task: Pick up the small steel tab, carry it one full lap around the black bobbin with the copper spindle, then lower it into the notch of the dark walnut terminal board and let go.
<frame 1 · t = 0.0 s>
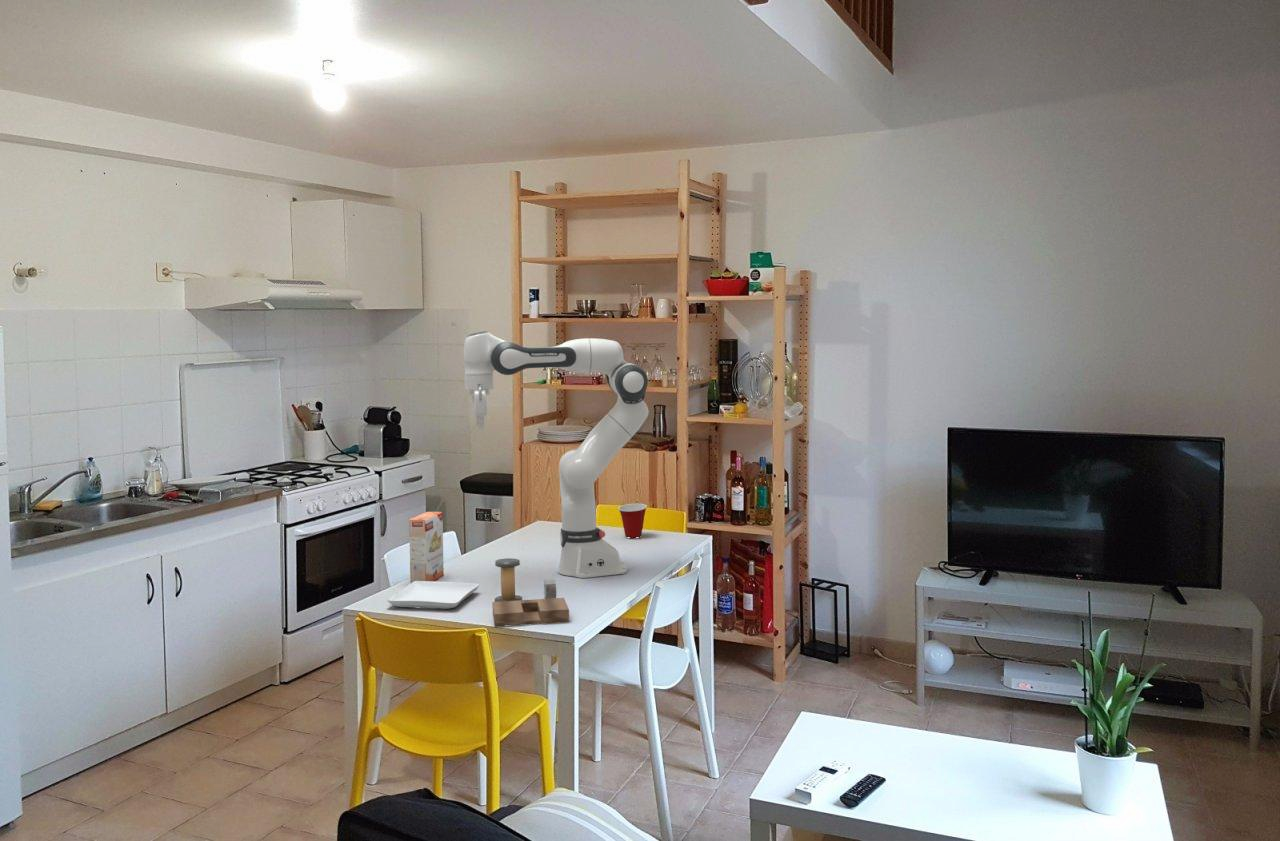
hand: (480, 427, 325), 48 cm above the table, tool pointing down, fingers open, 8 cm apart
bobbin: (508, 603, 299), on the table
plastic cup: (632, 538, 386), on the table
steel tab: (550, 602, 300), on the table
cracker box: (427, 580, 327), on the table
salad plate: (434, 602, 303), on the table
notched board: (530, 618, 284), on the table
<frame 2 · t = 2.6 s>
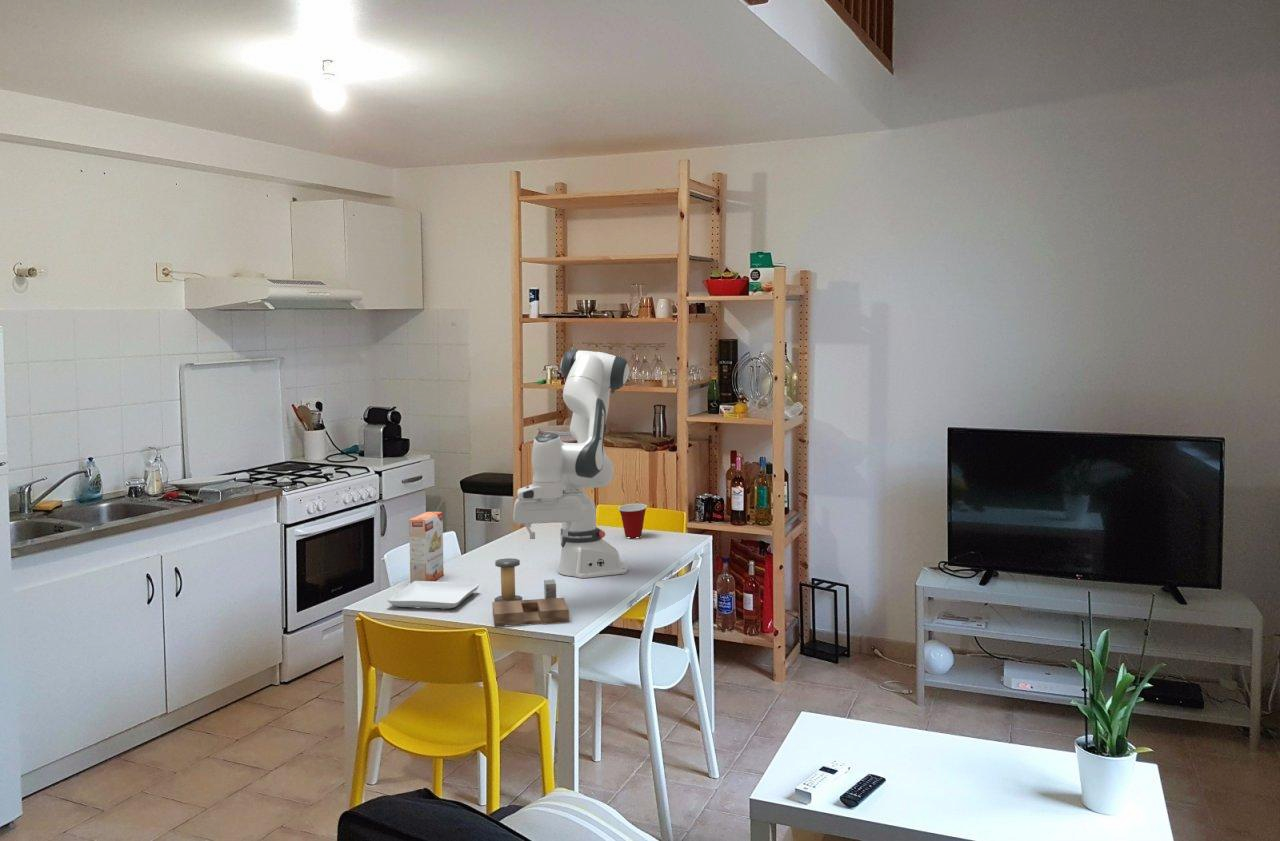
hand: (548, 537, 298), 19 cm above the table, tool pointing down, fingers open, 8 cm apart
nothing on the table moved.
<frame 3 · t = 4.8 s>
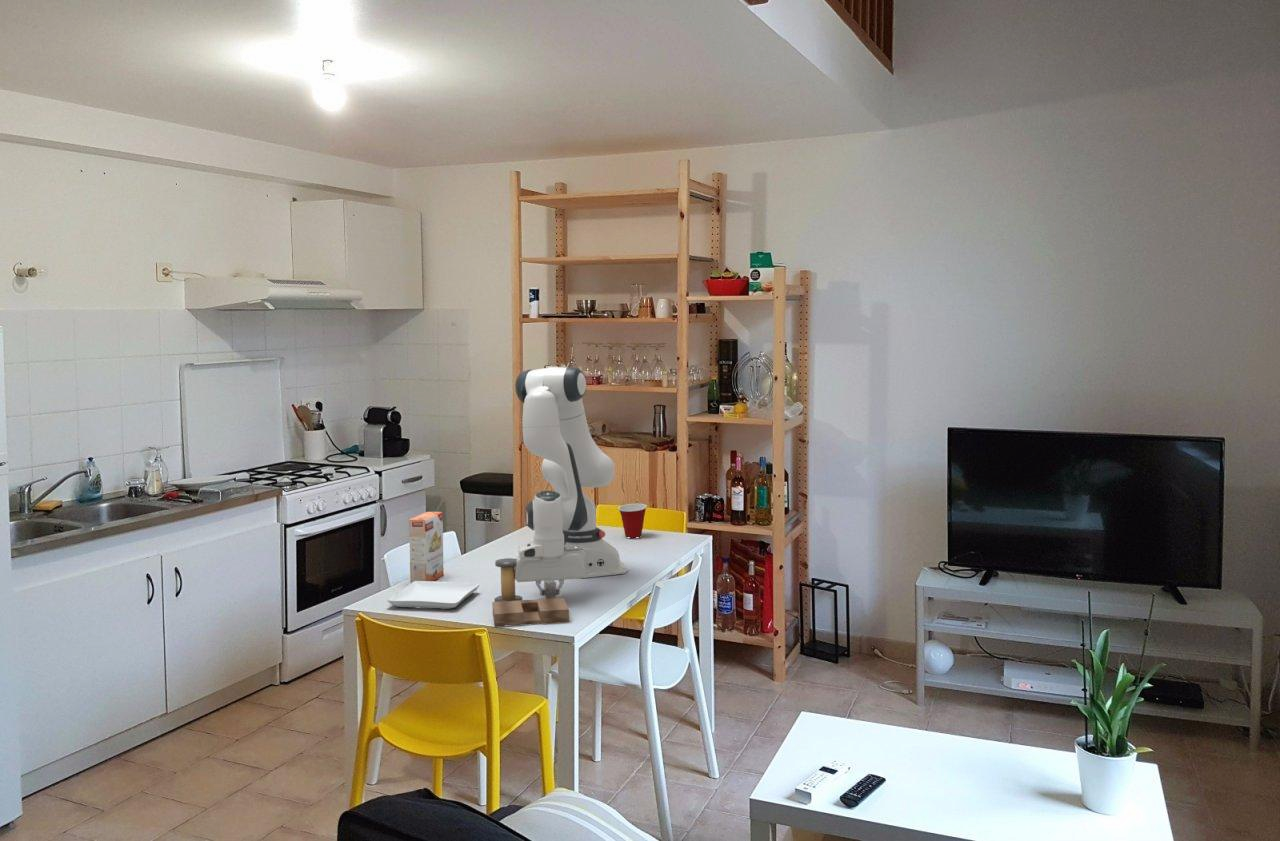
hand: (550, 594, 300), 2 cm above the table, tool pointing down, fingers closed on steel tab, 3 cm apart
steel tab: (550, 602, 300), on the table, touching gripper
everything else where it was.
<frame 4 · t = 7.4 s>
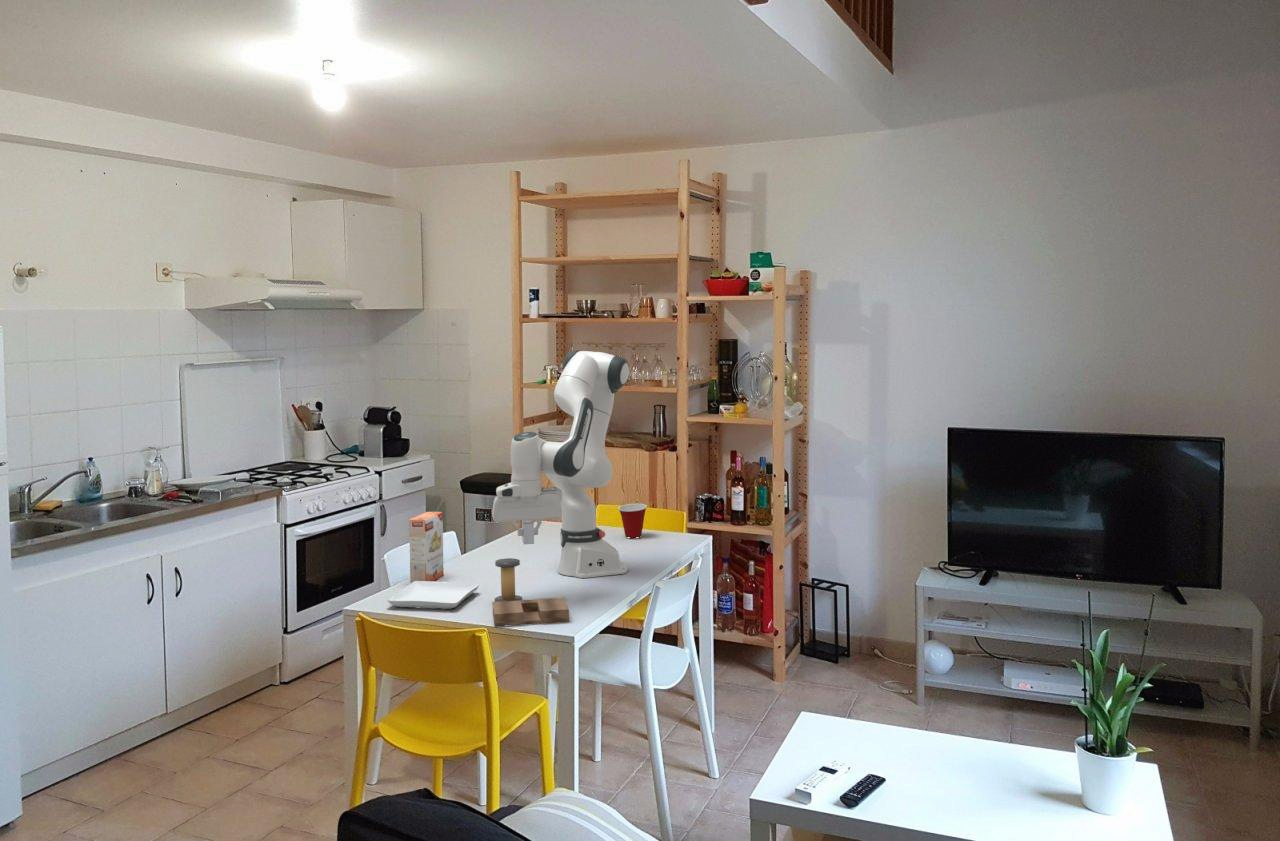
hand: (527, 535, 302), 19 cm above the table, tool pointing down, fingers closed on steel tab, 3 cm apart
steel tab: (528, 542, 303), point 17 cm above the table, touching gripper
everything else where it was.
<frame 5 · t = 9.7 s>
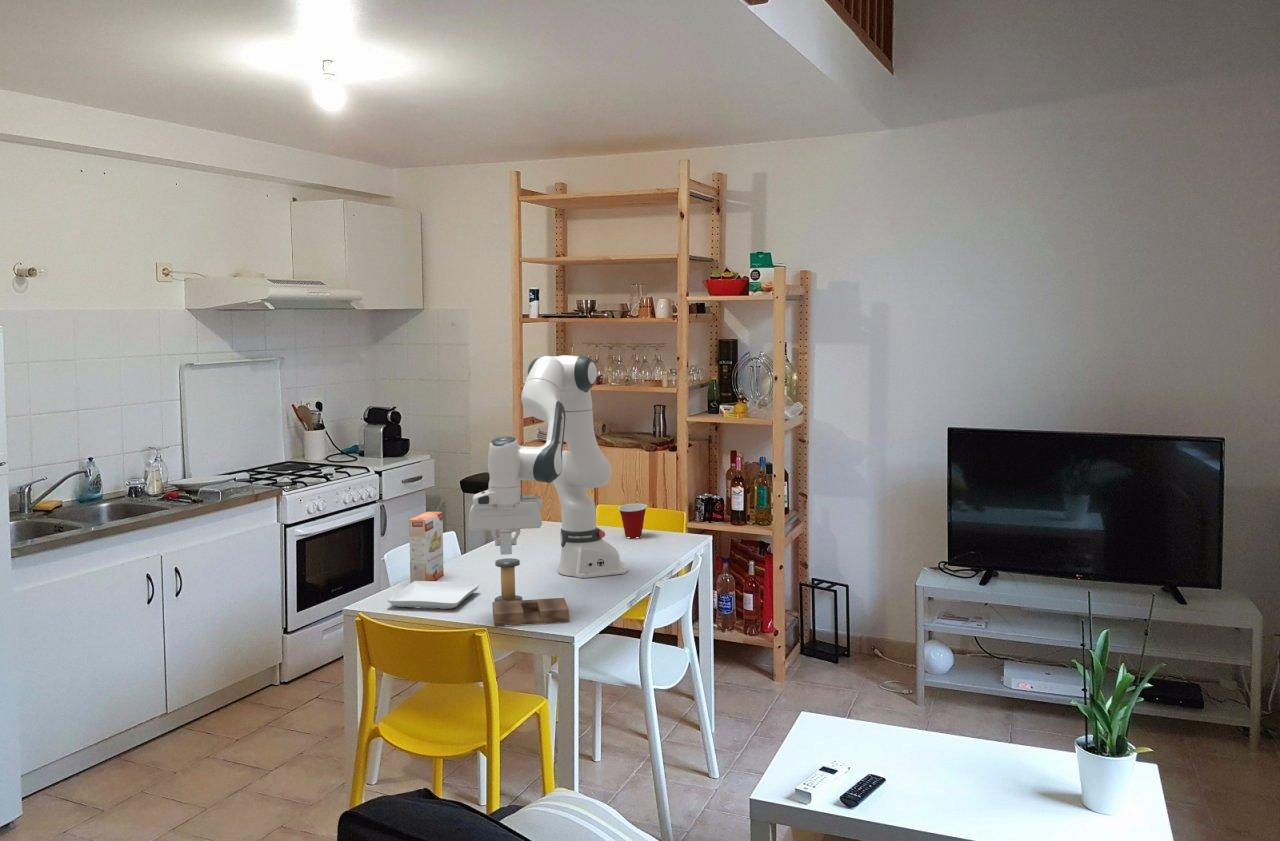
hand: (505, 545, 288), 19 cm above the table, tool pointing down, fingers closed on steel tab, 3 cm apart
steel tab: (506, 552, 288), point 17 cm above the table, touching gripper
everything else where it was.
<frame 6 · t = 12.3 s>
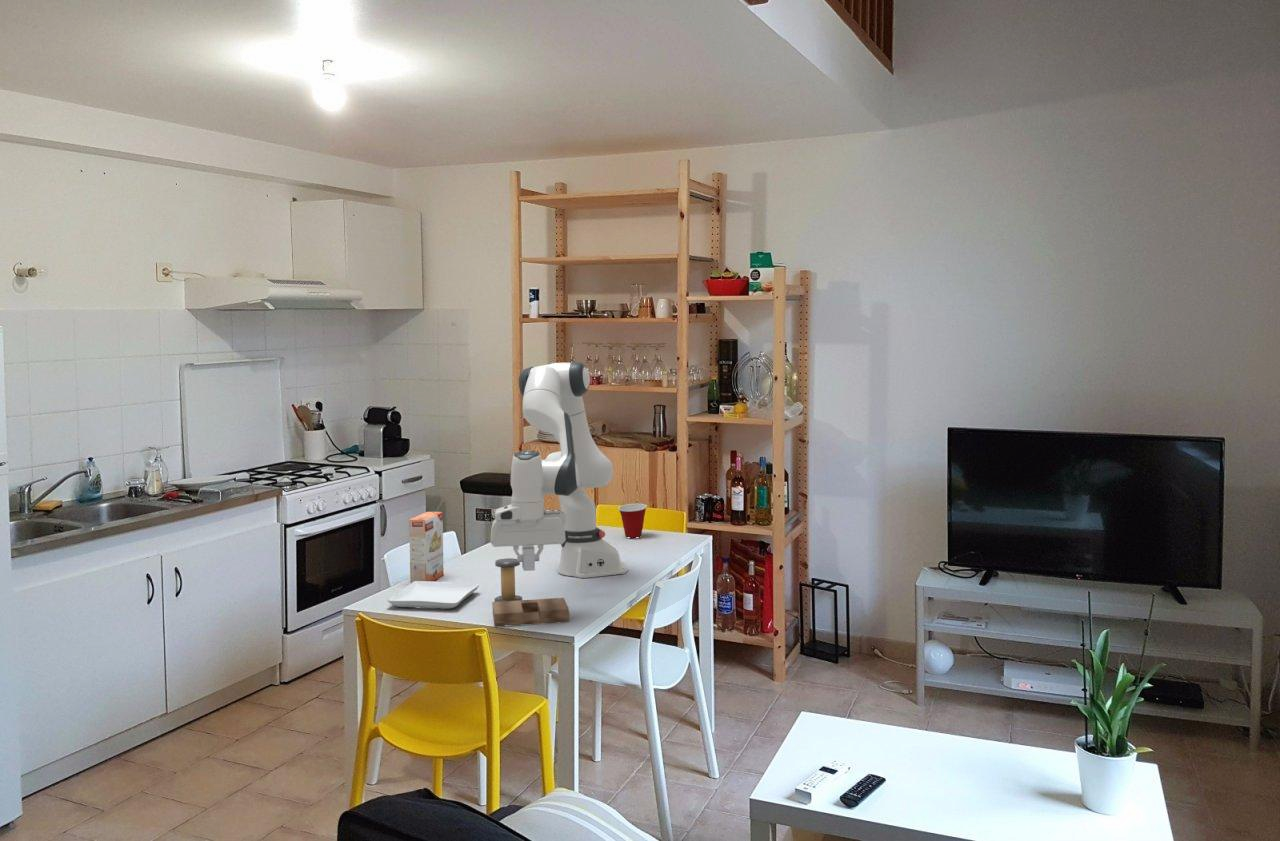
hand: (528, 561, 281), 16 cm above the table, tool pointing down, fingers closed on steel tab, 3 cm apart
steel tab: (528, 568, 281), point 14 cm above the table, touching gripper
everything else where it was.
when the fingers open (5 cm above the table, at t = 14.5 s): steel tab drops 2 cm, resting on notched board.
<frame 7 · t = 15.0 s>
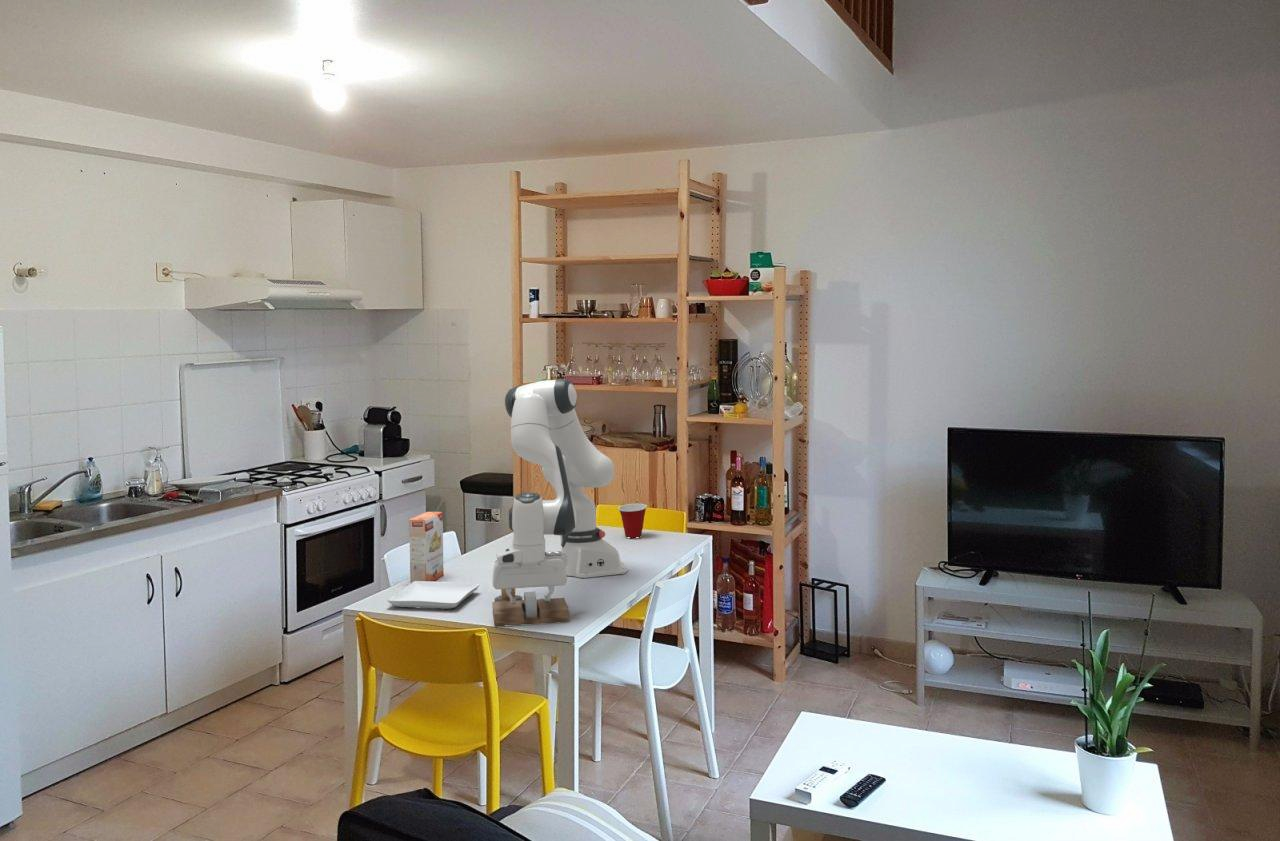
hand: (530, 602, 283), 5 cm above the table, tool pointing down, fingers open, 8 cm apart
steel tab: (530, 615, 283), point 1 cm above the table, touching notched board
everything else where it was.
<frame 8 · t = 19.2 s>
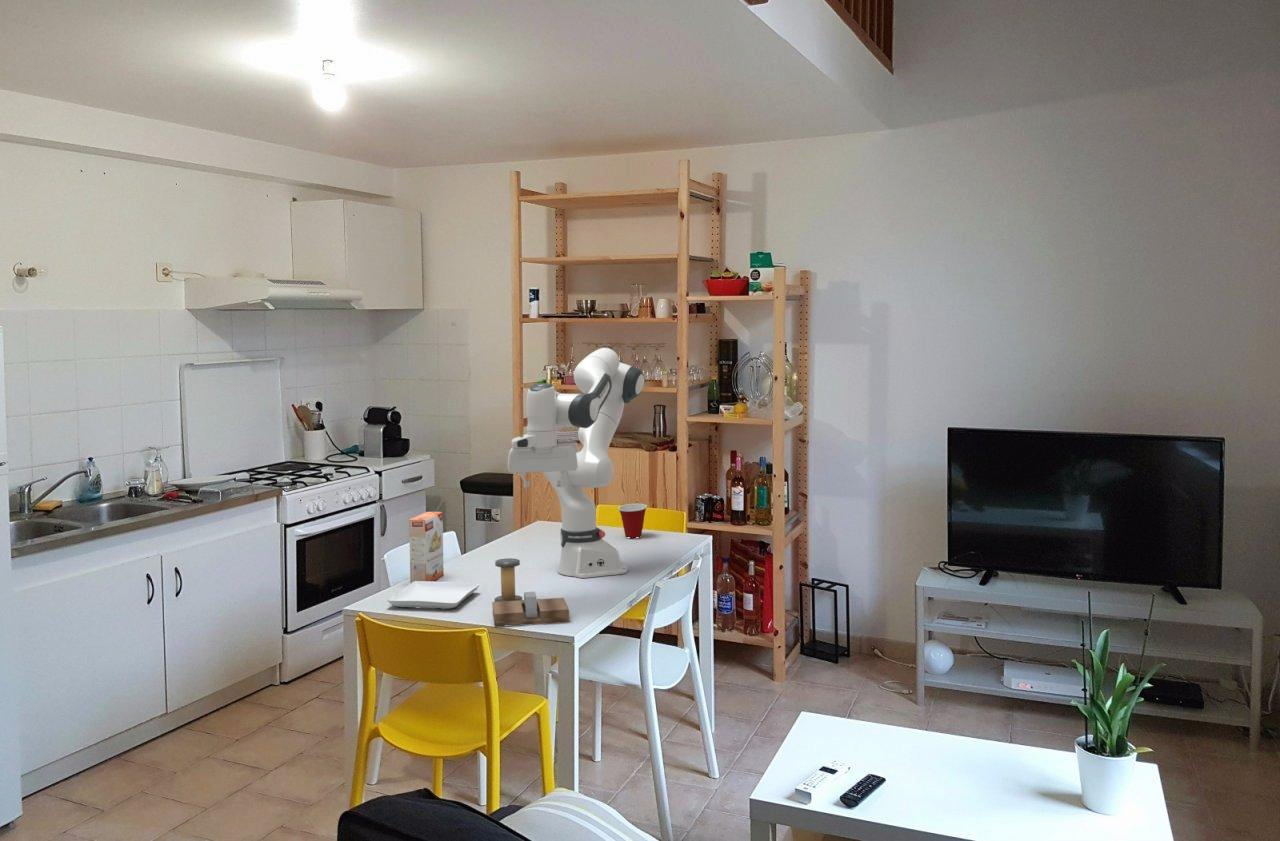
hand: (543, 487, 300), 33 cm above the table, tool pointing down, fingers open, 8 cm apart
nothing on the table moved.
at the end: steel tab 0.1 cm from the target spot on the notched board, point 1.0 cm above the notched board's base; steel tab tilted 0°; the gripper is holding nothing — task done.
